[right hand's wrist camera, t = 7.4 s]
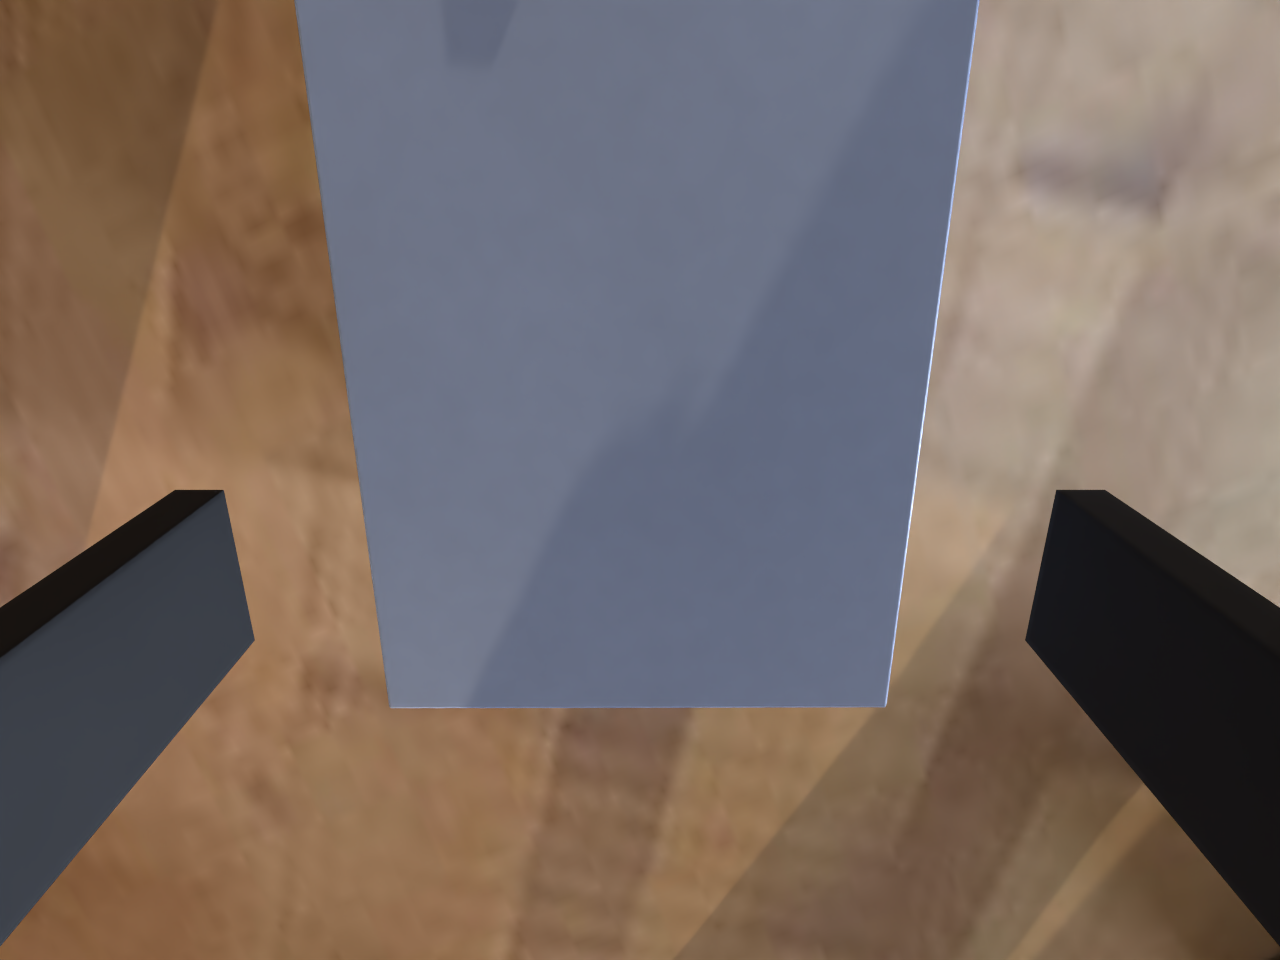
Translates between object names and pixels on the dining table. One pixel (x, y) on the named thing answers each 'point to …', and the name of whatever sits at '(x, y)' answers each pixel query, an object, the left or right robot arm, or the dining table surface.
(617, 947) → the dining table surface
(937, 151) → the cabinet
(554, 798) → the dining table surface
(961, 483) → the dining table surface
